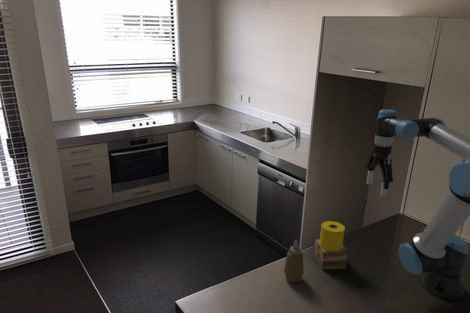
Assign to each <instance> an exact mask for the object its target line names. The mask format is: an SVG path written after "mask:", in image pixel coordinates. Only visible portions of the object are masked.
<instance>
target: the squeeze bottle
mask: <svg viewBox="0 0 470 313" xmlns="http://www.w3.org/2000/svg"><path fill="white" fill-rule="evenodd" d="M283 269H284V271H283V272H284V275H285V278H286V280H287V281H288V282H289V283H293V284H295V283H299V282H300V281H301V279H302V278H303V276H304V254H303V252H302V248H301V247H300V245H299V240H294V242H293V245H292V246H290V248H289V251H288V252H287V254H286V260H285V266H284V268H283Z"/></svg>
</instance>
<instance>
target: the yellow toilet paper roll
mask: <svg viewBox="0 0 470 313" xmlns="http://www.w3.org/2000/svg"><path fill="white" fill-rule="evenodd" d="M320 226H321V228H320V235H319V236H320V237H319V239H320V243H319V244H320V246H321V247H322V248H323V249H325V250H328V251H340V250H341V249H342V246H343V245H344V238H345V233H346V232H345V231H346V227H345V225H344V224H342V223H340V222H337V221H334V220H333V221H331V220H330V221H329V220H327V221H323V222H322V223H321V225H320Z"/></svg>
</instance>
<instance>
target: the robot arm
mask: <svg viewBox="0 0 470 313" xmlns="http://www.w3.org/2000/svg"><path fill="white" fill-rule="evenodd" d="M394 137H397V138H400V139H402V140H406V141H408V140H413V139H414V138H420V137H424V138H427V139H429V140H430V141H433V142H434V143H436V144H437V145H439V146H441V147H442V148H443V149H446V150H447V151H449V152H451V153H452V154H454V155H456V156H458V157H459V158H461V159H462V160H459V161H458V162H456V163H455V164H454V165H452V167H451V169H450V170H449V172H448V189H449V194H448V195H447V196H446V197H445V200H444V201H443V202H442V204H441V205H440V207H439V208H438V210H437V211H436V212H435V214H434V215H433V216H432V218H431V220H430V221H429V222H428V224H427V226H425V228H424V230H422V232H418V233H416V234H415V235H414V236H413V238H412V239H411V241H410V242H404V243H401V244H400V246H399V248H398V257H399V260H400V263H401V265H402V267H403V268H404V269H405V271H407V272H408V273H410V274H413V275H422V274H423V275H422V277H421V285H422V287H423V288H424V290H426V291H427V292H428V293H430V294H431V295H434V296H436V297H438V298H440V299H445V300H449V301H450V300H451V301H456V300H460V299H461V298H463V295H464V292H465V286H464V280H463V274H464V270H465V266H466V262H467V259H468V255H469V249H470V245H469V244H468V242H467V241H466V240H465V239H463V238H461V237H459V236H457V235H456V233H458V231H460V228H461V227H462V226H463V225H464V223H466V221H467V219H469V217H470V137H468V136H466V135H464V134H463V133H461V132H459V131H457V130H454V129H453V128H451V127H448V126H447V125H446V124H445V122H444V120H443V119H441V118H439V117H438V118H436V117H429V118H428V117H427V118H426V117H425V118H424V117H423V118H401V117H398V112H397V110H394V109H380V110H379V111H378V115H377V120H376V128H375V136H374V141H373V143H374V144H373V148H372V151H371V152H370V156H369V159H368V161H367V163H366V165H365V167H366V168H367V176H366V177H367V178H366V185H373V183H374V176H375V170H376V168H377V166H379V168H380V170H381V175H382V178H383V179H382V181H381V187H380V196H387V195H388V192H389V188H390V187H389V185H390V183H393V182H394V178H393V176H394V175H393V166H392V163H393V162H392V161H393V160H392V159H388V158H389V156H390V155H392V150H393V142H394Z"/></svg>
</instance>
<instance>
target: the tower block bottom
mask: <svg viewBox="0 0 470 313" xmlns="http://www.w3.org/2000/svg"><path fill="white" fill-rule="evenodd" d="M313 256H314V258H315V260H316V262H317V263H318V265H319V267H320V269H321V270H322V271H323V270H345V269H347V261H348V259H347V260H343V261H322V259H321V258H320V256H319V254H318V253H317V251H316V249H315V248H314V254H313Z"/></svg>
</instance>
